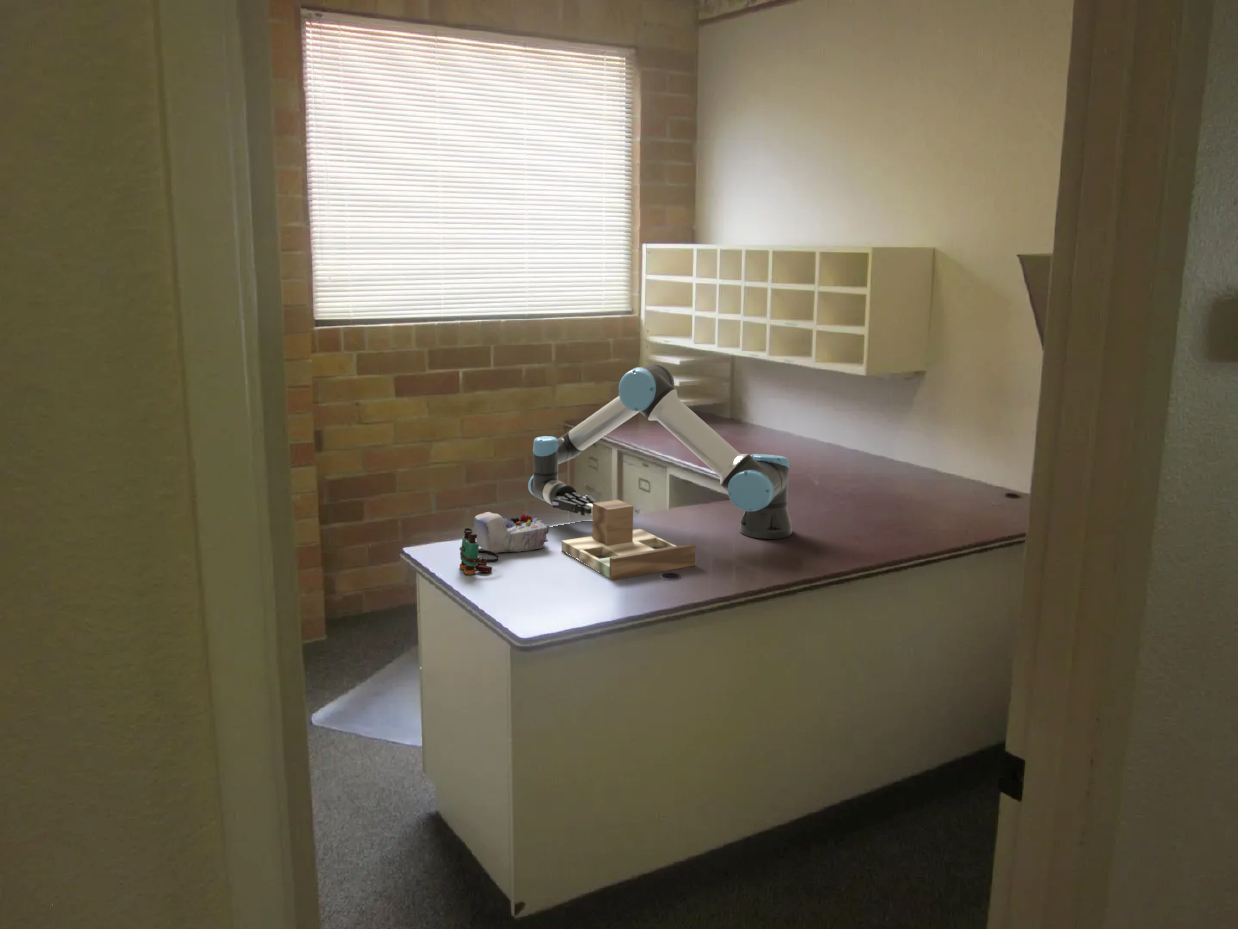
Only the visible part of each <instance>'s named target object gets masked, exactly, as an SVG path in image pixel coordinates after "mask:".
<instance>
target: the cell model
mask: <svg viewBox="0 0 1238 929" xmlns="http://www.w3.org/2000/svg"><path fill="white" fill-rule="evenodd" d="M473 526H474V528H473V529H474V533H475V534H477V538H476V542H477V543H479V547H480V548H481V549H482V550H487V551H491V552H494V553H496V554H498V553H508V552H509V553H521V551H523V552H525V551H526V552H529V551H533V550H538V549H539V550H540V549H542V548H543V547H544V545H545V543H547V542H548V541H549V540H548V539H547V535H548V534H549V532H550V525H549V524H545V523H544V522H543V520H541V519H538V517H534V518H532V516H531V515H528V514H525V513H523V514H521V515H520V517H519V516H518V517H511V518H510V519H509V518H507V517H505V516H503V515H500V514H499V513H493V512H490V511H487V512H483V513H480V514H477V515H476V516H474V518H473Z"/></svg>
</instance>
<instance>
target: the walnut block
mask: <svg viewBox="0 0 1238 929" xmlns="http://www.w3.org/2000/svg"><path fill="white" fill-rule="evenodd" d="M633 530H634V505H632V504H629V503H628V502H627V503H626V502H625V501H622V500H620V499H613V500H605V501H597V502H596V503H593V516H592V536H593V539H595V540H597V541H599V542H601V543H603V544H605V545H606V546H609V545H615V544H622V543H628V542H633Z"/></svg>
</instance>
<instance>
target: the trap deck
mask: <svg viewBox="0 0 1238 929" xmlns="http://www.w3.org/2000/svg"><path fill="white" fill-rule="evenodd" d="M562 551H564V552H567V553H568V554H570V555H571V556H573V557H574V558H578V559H579V560H580V561H582V562H583V563H585V564H587V565H589V566H590V567H591V568H590V567H589V568H590V569H592V568H593V569H592V570H594V569H595V570H597V571H599V572H600V573H599V572H598V573H599V574H601V573H602V574H603V575H602V574H601V575H602V576H604V575H605V576H604V577H607V578H608V577H609V578H608V579H609V580H611V581H615V580H621V578H622V579H627V578H626V577H628V578H632V577H633V578H634V577H638V576H643V575H649V574H650V575H651V574H655V573H659V572H660V573H661V572H666V571H671V570H676V569H682V568H683V569H684V568H688V567H694V566H696V544H694V543H688V544H682V545H676V544H674V543H672V542H669V541H667V540H665V539H663V538H661V537H659V536H656V535H654V534H652V533H650V532H648V531H645V530H644V529H642V528H637V529H633V542H628V543H622V544H615V545H609V546H606V545H605V544H603V543H601V542H599V541H597V540H595V539H593V535H590V536H583V537H577V538H571V539H563V540H561V552H562ZM564 552H563V553H564ZM571 556H570V557H571ZM573 557H572V558H573ZM574 558H573V559H574ZM580 561H579V562H580ZM583 563H582V564H583ZM585 564H584V565H585ZM587 565H586V566H587ZM595 570H594V571H595ZM597 571H596V572H597Z"/></svg>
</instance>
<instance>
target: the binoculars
mask: <svg viewBox="0 0 1238 929" xmlns="http://www.w3.org/2000/svg"><path fill="white" fill-rule="evenodd" d="M463 533H464V535H463V536H462V539H461V540H462V541H461V546H460V547H459V551H460V553H459V554H460V555H459V556H460V560H461V561H460V562H459V569H460V570H464V573H465V574H464V575H466V574H468V576H470V575H473V574H475V573H476V572H481V573H492V570H493V566H490V565H488V564H494V563H497V562H498V561H499V560H500V555H499V554H498V553H494V552H491V551H487V550H484V549H479V543H477V542H476V538H477V534H474V533H473V529H472V528H470V527H465V528H464V529H463ZM479 554H482V555H481V556H479ZM483 555H489V556H492V557H494V558H484V556H483Z"/></svg>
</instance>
